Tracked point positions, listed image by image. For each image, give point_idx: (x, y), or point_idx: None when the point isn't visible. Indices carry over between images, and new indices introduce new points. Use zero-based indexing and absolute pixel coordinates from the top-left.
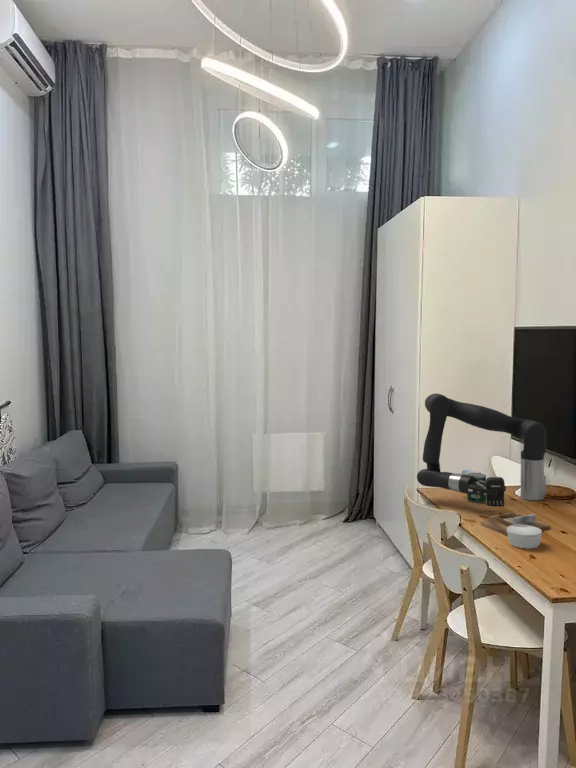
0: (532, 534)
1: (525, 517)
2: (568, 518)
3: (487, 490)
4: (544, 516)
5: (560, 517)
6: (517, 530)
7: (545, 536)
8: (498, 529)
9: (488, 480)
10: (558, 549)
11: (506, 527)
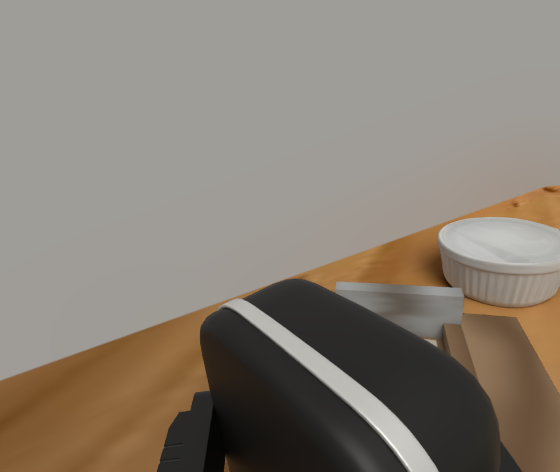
0: (500, 218)
1: (394, 287)
2: (141, 332)
3: (514, 465)
4: (153, 389)
5: (139, 349)
6: (536, 238)
7: None
8: (544, 368)
9: (479, 384)
10: (420, 245)
11: (482, 360)
